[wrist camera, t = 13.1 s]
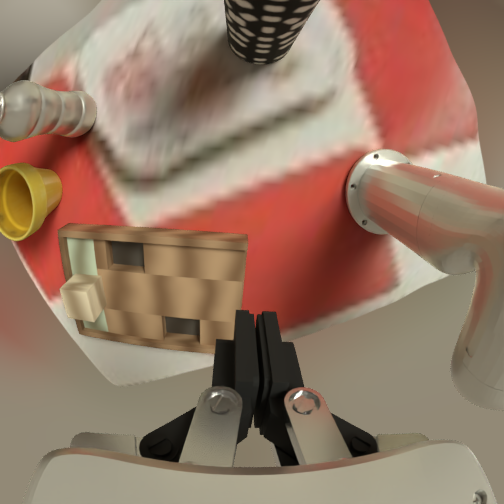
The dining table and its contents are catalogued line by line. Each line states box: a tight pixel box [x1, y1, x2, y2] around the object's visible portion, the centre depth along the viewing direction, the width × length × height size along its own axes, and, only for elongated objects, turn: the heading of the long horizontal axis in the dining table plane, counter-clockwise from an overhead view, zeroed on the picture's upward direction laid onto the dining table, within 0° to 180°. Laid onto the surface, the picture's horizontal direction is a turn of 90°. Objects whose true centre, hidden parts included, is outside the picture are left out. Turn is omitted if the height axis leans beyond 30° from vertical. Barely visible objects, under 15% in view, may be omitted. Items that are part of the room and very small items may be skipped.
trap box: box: [58, 223, 248, 354], centre depth 39 cm, size 28×19×3 cm
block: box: [60, 273, 107, 322], centre depth 36 cm, size 5×5×5 cm
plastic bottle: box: [0, 80, 97, 142], centre depth 21 cm, size 6×7×20 cm
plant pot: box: [0, 163, 62, 241], centre depth 29 cm, size 10×10×10 cm
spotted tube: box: [224, 0, 320, 64], centre depth 19 cm, size 8×8×20 cm
